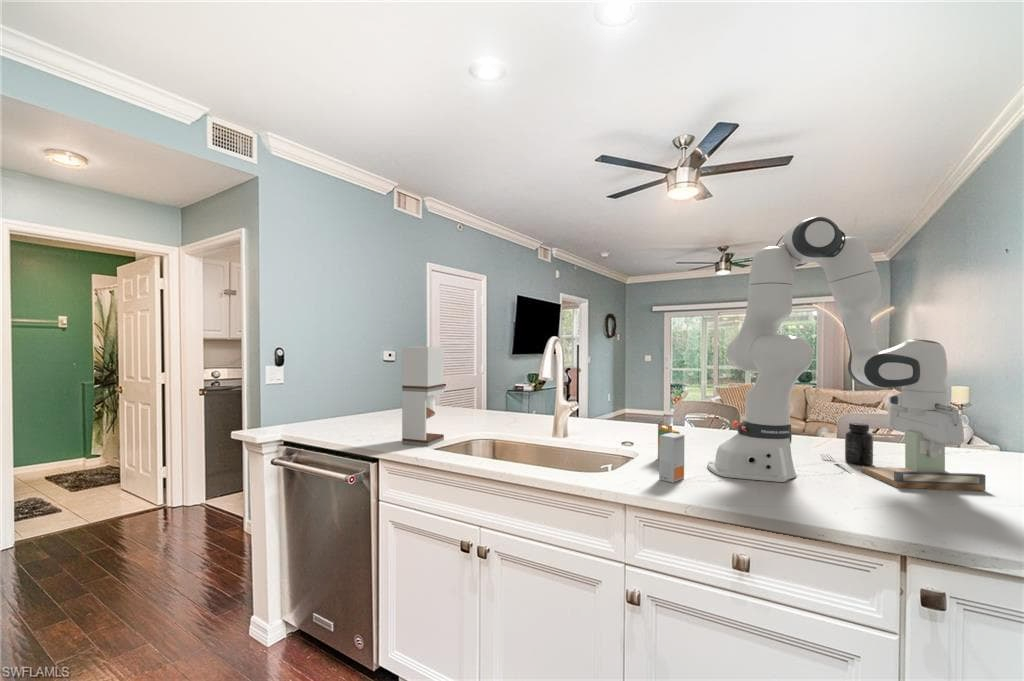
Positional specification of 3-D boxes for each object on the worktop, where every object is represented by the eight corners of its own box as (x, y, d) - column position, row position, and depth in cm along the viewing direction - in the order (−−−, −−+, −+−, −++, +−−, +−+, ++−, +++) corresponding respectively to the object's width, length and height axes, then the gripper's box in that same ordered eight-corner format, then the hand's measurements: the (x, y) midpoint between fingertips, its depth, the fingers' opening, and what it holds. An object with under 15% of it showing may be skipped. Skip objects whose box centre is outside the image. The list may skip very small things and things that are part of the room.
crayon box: (680, 463, 138) (680, 425, 138) (671, 464, 137) (671, 426, 137) (665, 457, 145) (665, 421, 145) (657, 458, 144) (657, 422, 144)
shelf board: (897, 488, 115) (897, 472, 115) (861, 471, 129) (861, 457, 129) (986, 491, 113) (986, 475, 113) (940, 474, 127) (940, 460, 127)
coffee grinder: (427, 446, 160) (427, 347, 161) (402, 444, 164) (402, 347, 164) (443, 439, 171) (443, 346, 171) (419, 437, 175) (419, 346, 175)
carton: (945, 473, 116) (944, 433, 116) (916, 472, 117) (916, 433, 117) (932, 468, 120) (932, 430, 120) (905, 467, 121) (905, 430, 121)
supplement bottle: (878, 467, 135) (878, 426, 135) (852, 465, 136) (852, 425, 136) (865, 460, 141) (865, 422, 141) (840, 459, 143) (840, 421, 143)
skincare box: (673, 483, 119) (673, 437, 119) (658, 479, 122) (658, 435, 122) (685, 478, 123) (685, 434, 123) (670, 475, 126) (670, 432, 126)
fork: (859, 482, 121) (859, 475, 121) (818, 459, 145) (818, 453, 145) (873, 483, 121) (873, 476, 121) (830, 459, 144) (830, 454, 144)
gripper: (972, 407, 108) (973, 466, 108) (908, 396, 128) (909, 445, 128) (943, 407, 108) (943, 465, 108) (884, 396, 129) (884, 445, 129)
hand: (924, 454), depth 118 cm, fingers closed on carton, 4 cm apart
